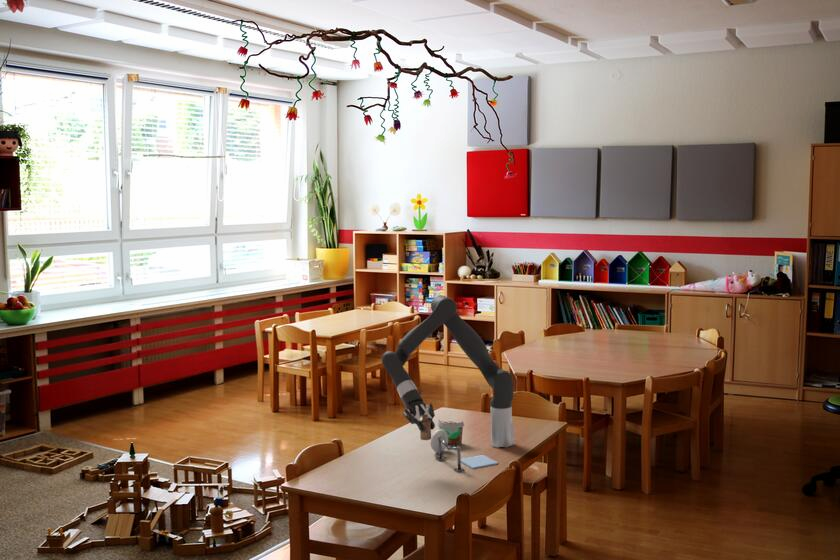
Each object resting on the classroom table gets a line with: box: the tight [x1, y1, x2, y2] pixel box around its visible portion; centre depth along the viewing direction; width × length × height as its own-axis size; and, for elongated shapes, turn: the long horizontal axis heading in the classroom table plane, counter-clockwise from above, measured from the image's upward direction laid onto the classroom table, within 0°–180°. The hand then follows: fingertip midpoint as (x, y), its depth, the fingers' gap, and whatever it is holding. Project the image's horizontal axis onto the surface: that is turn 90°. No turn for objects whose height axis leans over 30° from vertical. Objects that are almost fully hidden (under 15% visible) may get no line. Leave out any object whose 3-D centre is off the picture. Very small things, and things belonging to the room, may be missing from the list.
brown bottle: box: [419, 413, 432, 441], centre depth 312 cm, size 4×4×10 cm
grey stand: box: [435, 437, 465, 473], centre depth 320 cm, size 3×19×10 cm, turn 27°
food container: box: [436, 419, 465, 446], centre depth 348 cm, size 12×6×10 cm, turn 68°
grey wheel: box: [430, 428, 448, 454], centre depth 337 cm, size 10×4×10 cm, turn 139°
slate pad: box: [461, 454, 499, 470], centre depth 323 cm, size 12×12×1 cm
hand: (428, 429), depth 310 cm, fingers closed on brown bottle, 4 cm apart
